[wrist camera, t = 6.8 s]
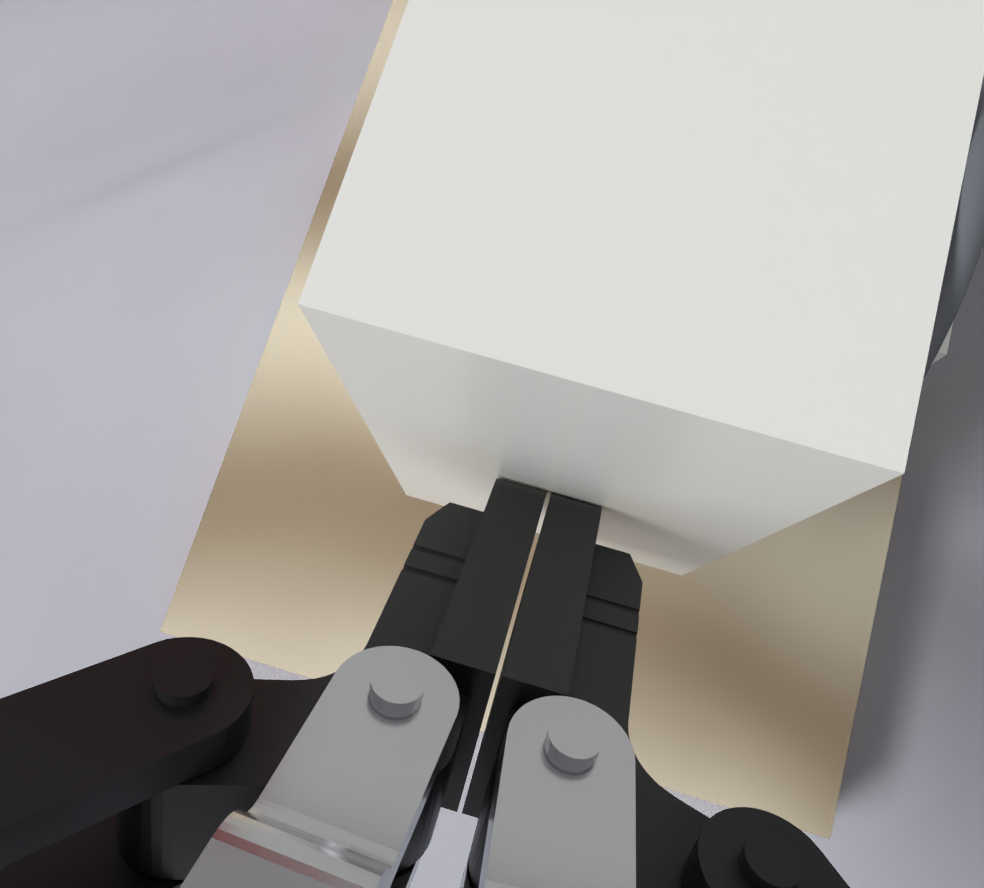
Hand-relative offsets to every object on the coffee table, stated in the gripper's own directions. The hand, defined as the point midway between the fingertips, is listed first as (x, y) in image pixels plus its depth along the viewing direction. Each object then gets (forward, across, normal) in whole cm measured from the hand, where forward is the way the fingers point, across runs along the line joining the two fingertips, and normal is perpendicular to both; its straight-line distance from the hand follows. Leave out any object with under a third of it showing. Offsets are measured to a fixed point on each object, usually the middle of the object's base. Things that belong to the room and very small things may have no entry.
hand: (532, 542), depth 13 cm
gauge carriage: (+5, -2, -1) cm, 6 cm away
